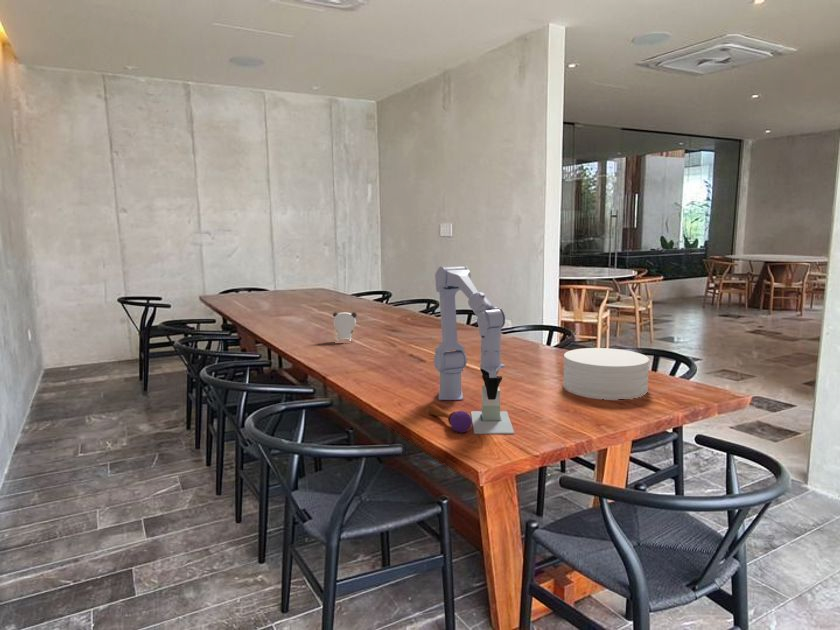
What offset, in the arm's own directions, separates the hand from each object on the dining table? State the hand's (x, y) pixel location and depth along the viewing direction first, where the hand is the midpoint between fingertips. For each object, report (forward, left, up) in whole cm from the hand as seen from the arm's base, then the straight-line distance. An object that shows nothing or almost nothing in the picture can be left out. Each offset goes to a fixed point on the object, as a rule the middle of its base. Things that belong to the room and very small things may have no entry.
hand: (490, 395), depth 163 cm
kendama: (+4, -12, -8) cm, 15 cm away
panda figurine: (-116, -64, -8) cm, 132 cm away
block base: (0, 0, -7) cm, 7 cm away
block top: (0, 0, -2) cm, 2 cm away
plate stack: (-32, +42, -8) cm, 54 cm away
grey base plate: (+3, 0, -7) cm, 8 cm away
